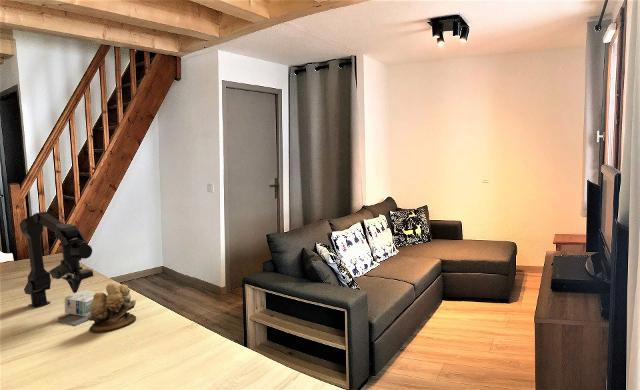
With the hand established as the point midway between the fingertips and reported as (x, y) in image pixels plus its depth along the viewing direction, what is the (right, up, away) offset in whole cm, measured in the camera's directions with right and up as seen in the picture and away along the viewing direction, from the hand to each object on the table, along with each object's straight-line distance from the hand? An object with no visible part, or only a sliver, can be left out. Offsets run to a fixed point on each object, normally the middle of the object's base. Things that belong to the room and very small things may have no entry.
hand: (75, 292), depth 187 cm
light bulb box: (-2, -4, +3) cm, 5 cm away
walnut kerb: (0, -9, +1) cm, 9 cm away
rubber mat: (+6, -9, -2) cm, 11 cm away
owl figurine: (+23, -10, -13) cm, 28 cm away
